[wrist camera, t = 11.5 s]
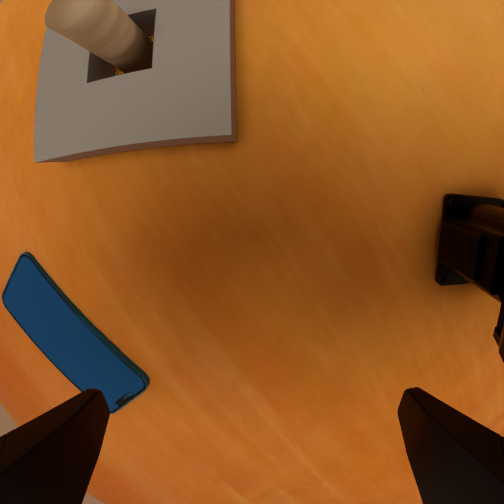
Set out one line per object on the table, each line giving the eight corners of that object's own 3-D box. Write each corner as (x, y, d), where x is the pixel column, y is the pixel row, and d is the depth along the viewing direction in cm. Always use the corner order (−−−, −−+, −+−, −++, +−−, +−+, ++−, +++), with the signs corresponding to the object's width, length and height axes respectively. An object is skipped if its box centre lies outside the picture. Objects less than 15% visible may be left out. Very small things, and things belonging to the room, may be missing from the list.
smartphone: (23, 247, 19) (152, 385, 21) (31, 244, 20) (155, 378, 22) (-1, 300, 20) (109, 416, 23) (5, 296, 21) (113, 410, 24)
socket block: (234, -19, 14) (230, -48, 10) (236, 141, 17) (231, 134, 14) (77, 15, 14) (53, -1, 11) (65, 161, 17) (34, 162, 14)
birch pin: (162, 41, 15) (101, -29, 7) (161, 75, 16) (91, 17, 7) (126, 48, 15) (51, -8, 7) (123, 82, 16) (40, 38, 7)
